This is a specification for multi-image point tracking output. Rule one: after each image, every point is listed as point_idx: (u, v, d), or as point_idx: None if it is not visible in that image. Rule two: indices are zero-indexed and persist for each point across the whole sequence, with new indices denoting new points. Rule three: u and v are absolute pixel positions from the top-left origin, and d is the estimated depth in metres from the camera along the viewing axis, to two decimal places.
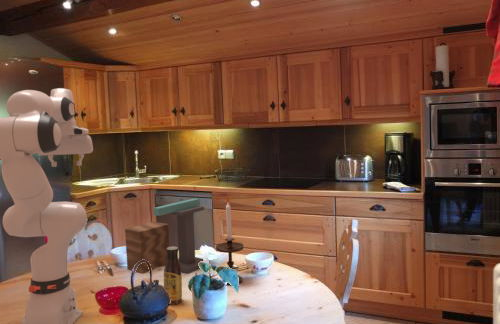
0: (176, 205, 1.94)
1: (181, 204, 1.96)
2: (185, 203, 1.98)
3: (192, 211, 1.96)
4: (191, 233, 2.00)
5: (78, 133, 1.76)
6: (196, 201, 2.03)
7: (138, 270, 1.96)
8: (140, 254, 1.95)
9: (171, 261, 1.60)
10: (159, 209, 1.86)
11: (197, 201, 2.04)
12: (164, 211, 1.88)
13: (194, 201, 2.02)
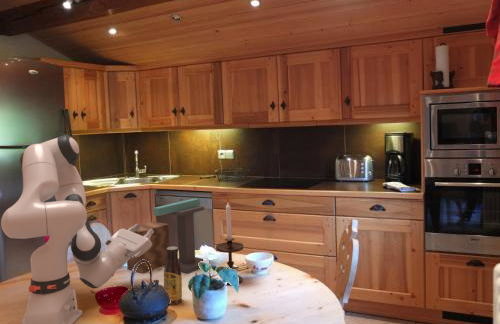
0: (176, 205, 1.94)
1: (181, 204, 1.96)
2: (185, 203, 1.98)
3: (192, 211, 1.96)
4: (191, 233, 2.00)
5: (109, 241, 1.77)
6: (196, 201, 2.03)
7: (138, 270, 1.96)
8: None
9: (171, 261, 1.60)
10: (159, 209, 1.86)
11: (197, 201, 2.04)
12: (164, 211, 1.88)
13: (194, 201, 2.02)
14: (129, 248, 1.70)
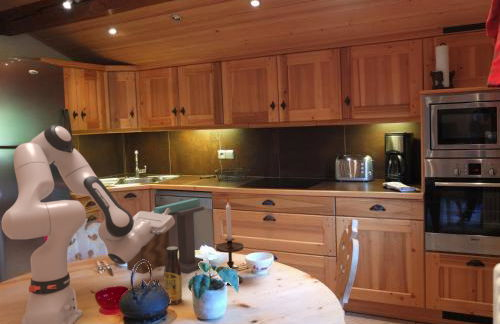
0: (176, 205, 1.94)
1: (181, 204, 1.96)
2: (185, 203, 1.98)
3: (192, 211, 1.96)
4: (191, 233, 2.00)
5: None
6: (196, 201, 2.03)
7: (138, 270, 1.96)
8: (140, 254, 1.95)
9: (171, 261, 1.60)
10: (159, 209, 1.86)
11: (197, 201, 2.04)
12: (164, 211, 1.88)
13: (194, 201, 2.02)
14: (154, 225, 1.79)
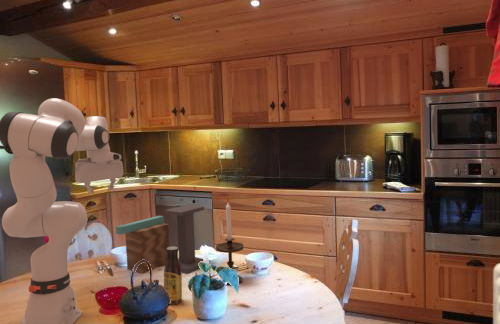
0: (139, 223, 1.97)
1: (144, 222, 2.00)
2: (148, 221, 2.01)
3: (192, 211, 1.96)
4: (191, 233, 2.00)
5: (116, 158, 1.85)
6: (160, 219, 2.07)
7: (138, 270, 1.96)
8: (140, 254, 1.95)
9: (171, 261, 1.60)
10: (121, 228, 1.90)
11: (161, 219, 2.07)
12: (126, 230, 1.92)
13: (158, 219, 2.06)
14: (89, 164, 1.77)
